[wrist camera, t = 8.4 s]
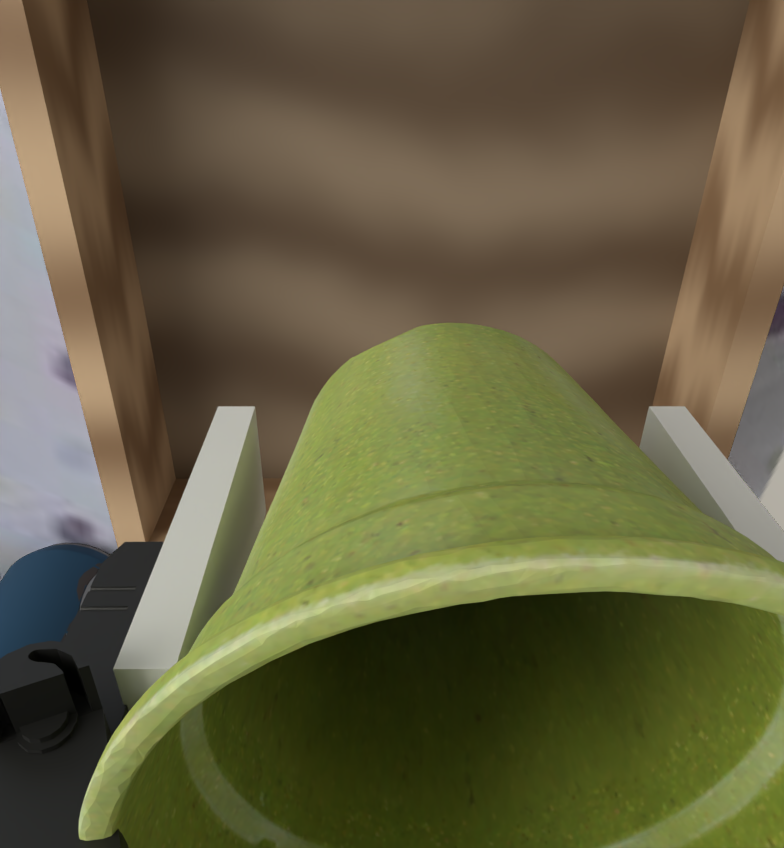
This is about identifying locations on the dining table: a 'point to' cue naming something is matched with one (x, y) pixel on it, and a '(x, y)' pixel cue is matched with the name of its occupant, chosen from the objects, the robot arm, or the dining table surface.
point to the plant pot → (467, 637)
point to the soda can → (45, 594)
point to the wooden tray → (392, 203)
